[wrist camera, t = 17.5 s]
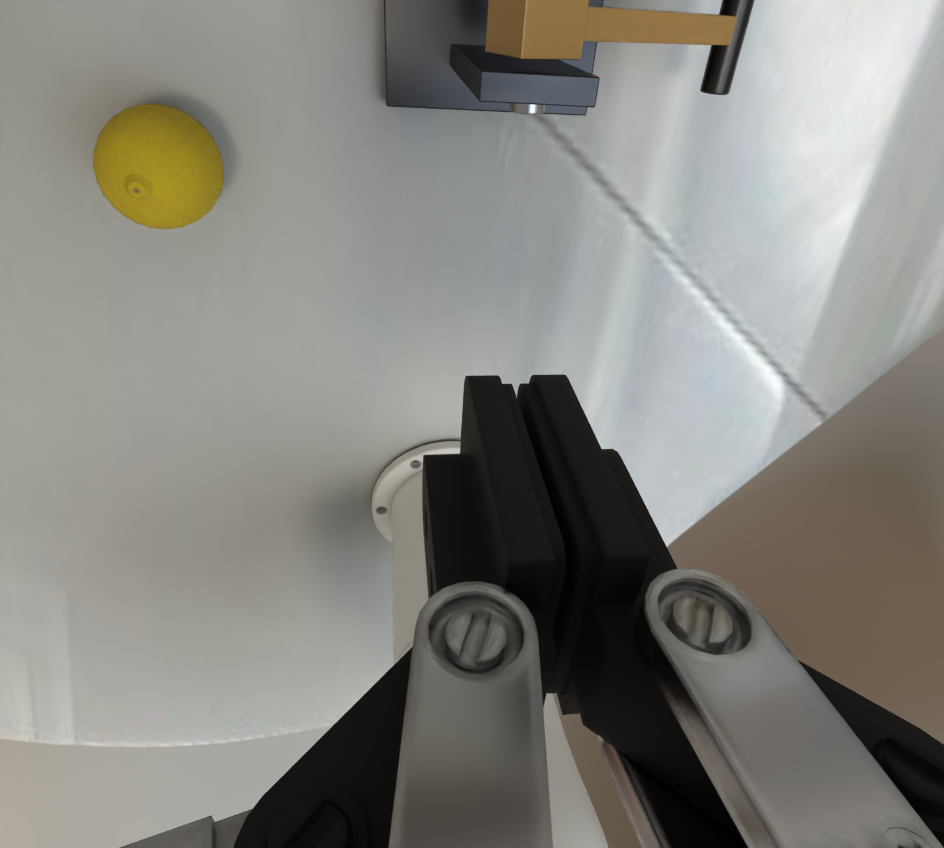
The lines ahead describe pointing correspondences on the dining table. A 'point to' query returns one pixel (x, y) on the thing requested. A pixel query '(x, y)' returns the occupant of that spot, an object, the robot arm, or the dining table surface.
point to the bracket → (475, 64)
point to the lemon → (158, 166)
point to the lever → (616, 31)
